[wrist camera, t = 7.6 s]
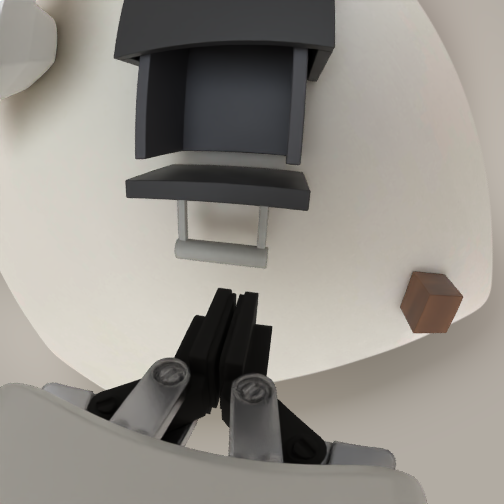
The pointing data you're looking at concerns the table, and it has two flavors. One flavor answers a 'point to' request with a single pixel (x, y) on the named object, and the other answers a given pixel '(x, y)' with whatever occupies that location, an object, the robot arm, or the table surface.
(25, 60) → the bowl
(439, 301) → the block
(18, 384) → the robot arm
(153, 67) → the pull-out drawer
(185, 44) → the dark drawer cabinet
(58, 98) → the table surface
